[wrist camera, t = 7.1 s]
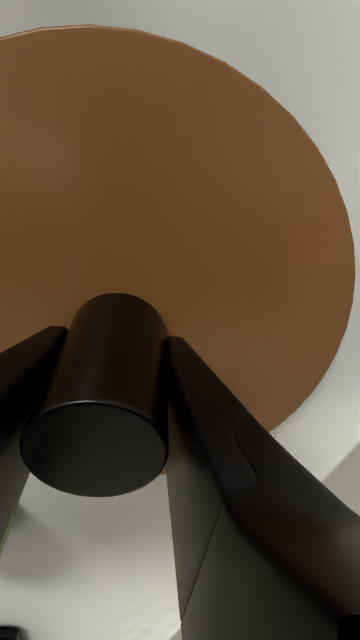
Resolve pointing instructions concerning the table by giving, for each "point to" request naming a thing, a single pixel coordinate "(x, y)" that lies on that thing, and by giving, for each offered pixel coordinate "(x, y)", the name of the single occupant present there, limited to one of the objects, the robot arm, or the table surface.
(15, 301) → the wooden lid
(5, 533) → the candle
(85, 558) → the table surface
